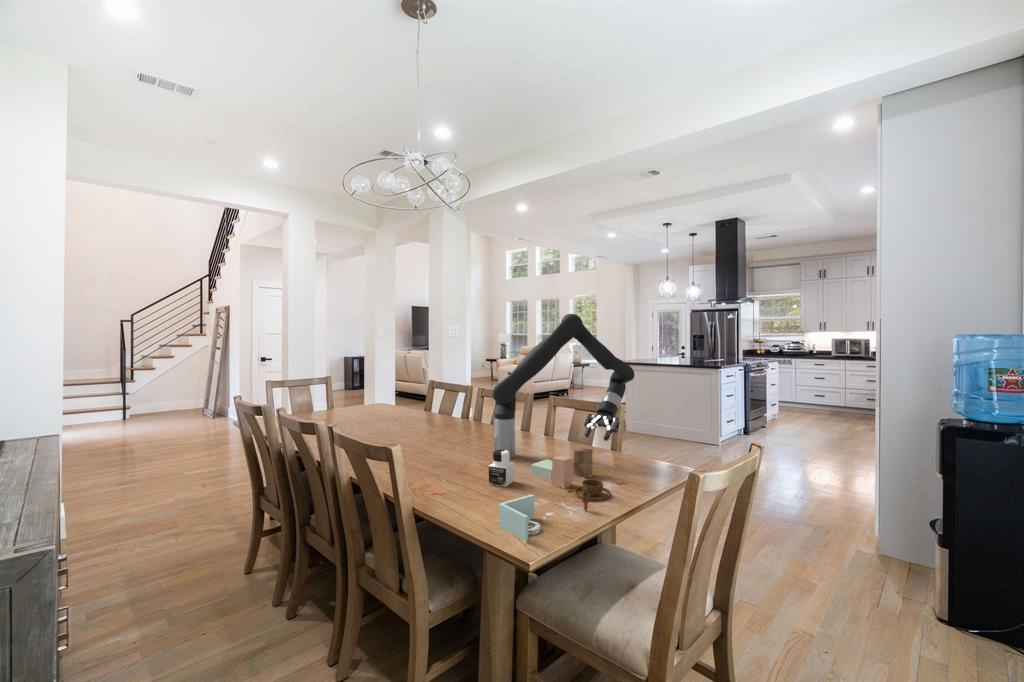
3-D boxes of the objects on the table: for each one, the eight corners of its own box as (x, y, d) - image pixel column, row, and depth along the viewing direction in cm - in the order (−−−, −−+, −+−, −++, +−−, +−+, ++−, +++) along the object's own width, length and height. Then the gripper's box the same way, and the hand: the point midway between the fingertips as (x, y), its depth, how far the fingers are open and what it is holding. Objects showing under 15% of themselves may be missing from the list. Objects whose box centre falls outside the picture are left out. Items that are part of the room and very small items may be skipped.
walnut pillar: (574, 476, 178) (573, 450, 178) (581, 472, 182) (581, 447, 182) (585, 478, 175) (585, 452, 175) (592, 475, 179) (592, 449, 178)
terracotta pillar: (552, 485, 167) (552, 458, 167) (560, 482, 171) (560, 455, 171) (564, 488, 164) (563, 460, 164) (571, 485, 168) (571, 457, 168)
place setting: (625, 499, 155) (625, 481, 155) (588, 516, 141) (587, 496, 141) (583, 486, 168) (583, 470, 168) (545, 501, 154) (545, 483, 154)
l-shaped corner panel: (525, 545, 123) (525, 517, 123) (499, 529, 132) (499, 503, 132) (559, 532, 130) (559, 506, 130) (532, 519, 140) (532, 494, 139)
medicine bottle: (488, 484, 169) (487, 452, 169) (497, 479, 176) (497, 447, 176) (506, 487, 166) (505, 454, 166) (514, 481, 173) (514, 449, 172)
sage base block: (530, 474, 181) (530, 464, 181) (546, 469, 189) (546, 459, 189) (551, 480, 175) (550, 469, 175) (566, 474, 182) (566, 463, 182)
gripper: (591, 398, 196) (576, 430, 188) (622, 401, 187) (608, 435, 178) (598, 409, 200) (583, 440, 192) (628, 412, 191) (615, 446, 182)
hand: (595, 438), depth 185 cm, fingers open, 8 cm apart
